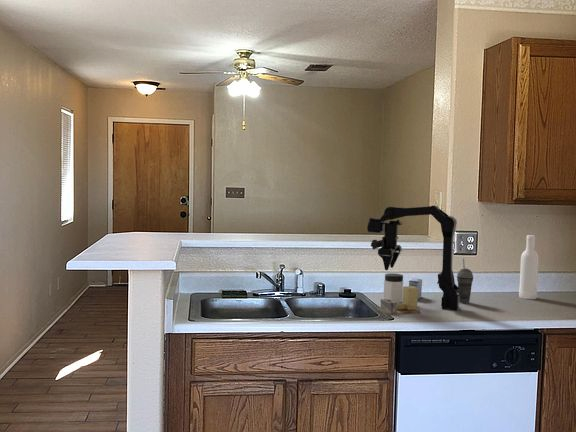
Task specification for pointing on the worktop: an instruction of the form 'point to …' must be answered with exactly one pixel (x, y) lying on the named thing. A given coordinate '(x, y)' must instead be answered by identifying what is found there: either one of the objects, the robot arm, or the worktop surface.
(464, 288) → the beverage cup
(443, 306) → the robot arm
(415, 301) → the tan rectangular block
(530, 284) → the bottle
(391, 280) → the lidded container
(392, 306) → the board
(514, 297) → the worktop surface
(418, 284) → the medicine box
